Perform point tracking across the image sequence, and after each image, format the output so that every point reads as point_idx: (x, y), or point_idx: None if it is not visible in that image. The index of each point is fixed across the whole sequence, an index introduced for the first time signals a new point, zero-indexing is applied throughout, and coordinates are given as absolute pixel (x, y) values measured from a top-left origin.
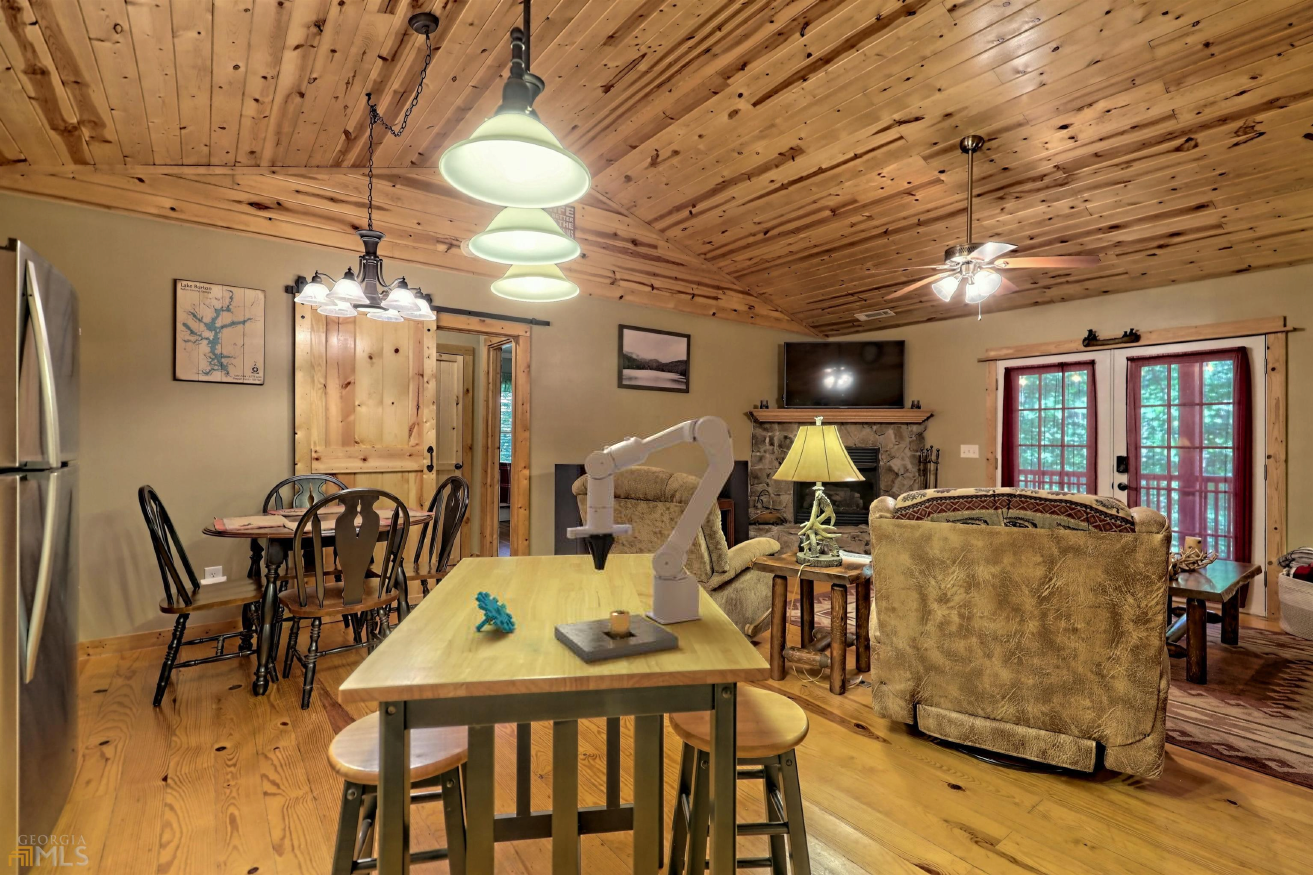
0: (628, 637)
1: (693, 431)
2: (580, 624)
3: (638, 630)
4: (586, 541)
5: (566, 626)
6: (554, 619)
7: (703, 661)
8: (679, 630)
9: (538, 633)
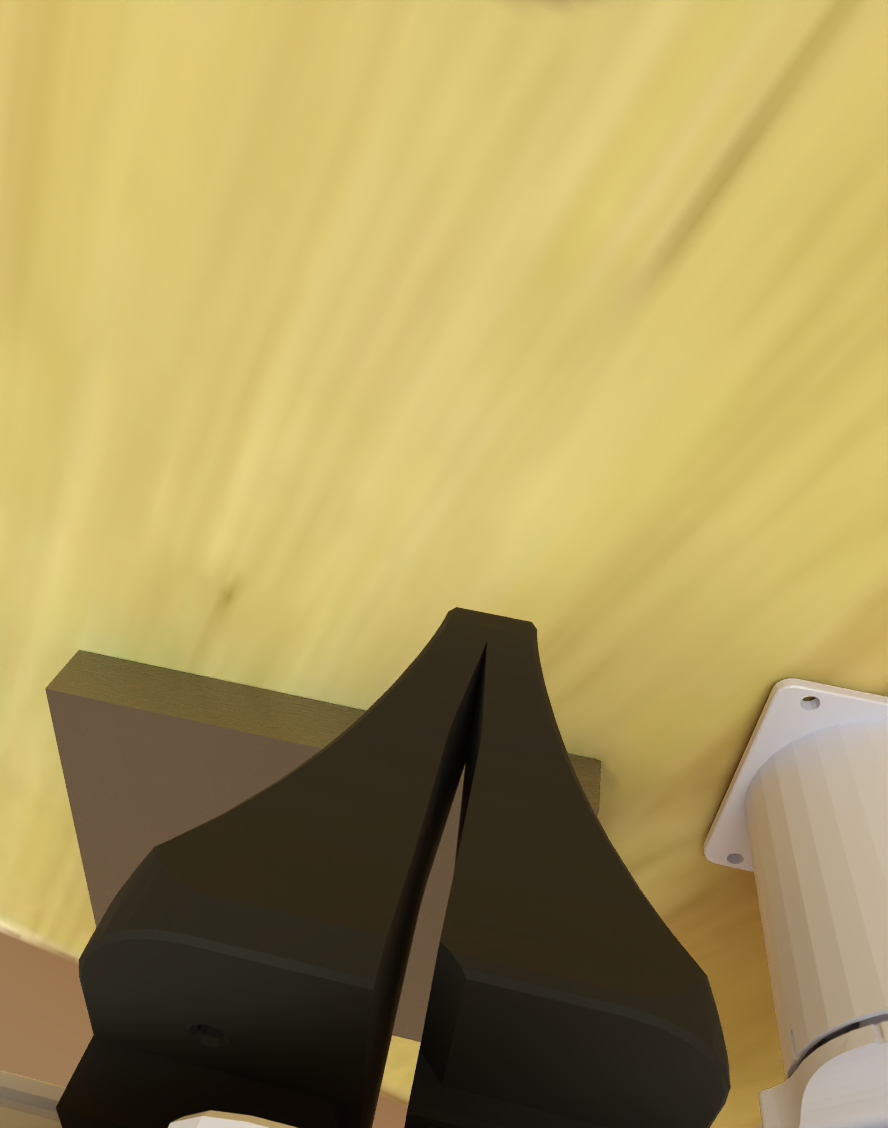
0: None
1: None
2: (187, 748)
3: (415, 949)
4: (188, 840)
5: (105, 731)
6: (156, 384)
7: None
8: (708, 928)
9: (4, 566)
